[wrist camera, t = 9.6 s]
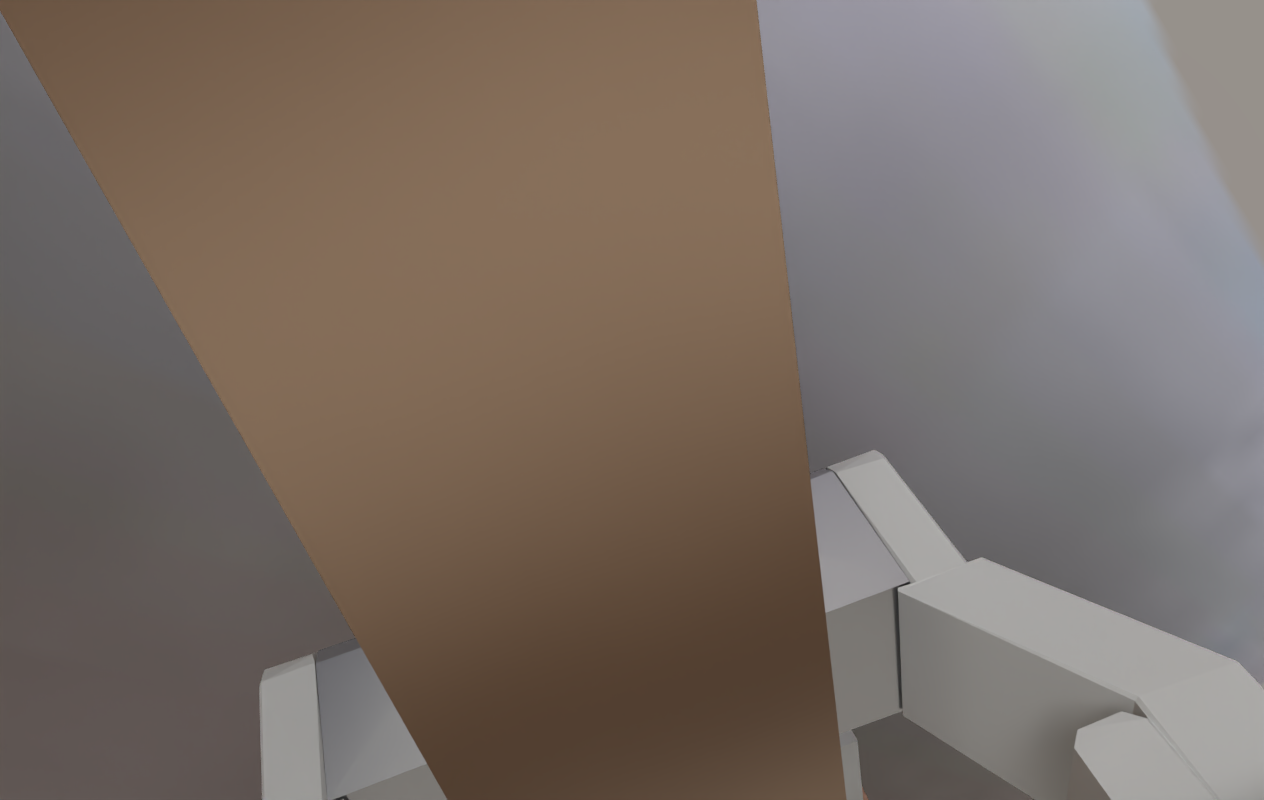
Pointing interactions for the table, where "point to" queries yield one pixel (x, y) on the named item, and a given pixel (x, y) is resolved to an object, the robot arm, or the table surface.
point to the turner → (497, 359)
